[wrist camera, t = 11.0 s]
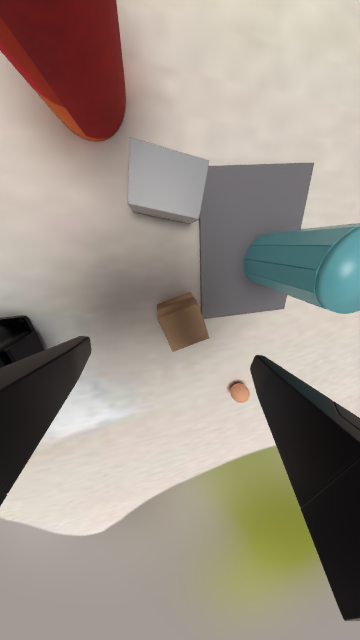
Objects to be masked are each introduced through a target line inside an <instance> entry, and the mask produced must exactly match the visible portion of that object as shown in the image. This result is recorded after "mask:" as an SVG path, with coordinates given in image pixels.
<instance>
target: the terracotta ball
mask: <svg viewBox="0 0 360 640" xmlns="http://www.w3.org/2000/svg"><path fill="white" fill-rule="evenodd" d="M231 396H232V398H233V399H234V400H235V401H237V402H239V403H243V402H246V401H247V400H248V398H249V390H248V388H247V387H246V386H245V385H243V384H241V383H237V384H234V385H233V386H232V388H231Z"/></svg>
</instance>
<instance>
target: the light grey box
mask: <svg viewBox="0 0 360 640" xmlns="http://www.w3.org/2000/svg"><path fill="white" fill-rule="evenodd" d="M208 165H209V160H206V159H202V158H199V157H195V156H192V155H189V154H185V153H182V152H179V151H175V150H172V149H168V148H165V147H162V146H158V145H155V144H152V143H148V142H145V141H141V140H138V139H135V138H131V137H130V151H129V180H128V205H129V206H130V208H131V209H132V211H133V212H137V213H141V214H146V215H151V216H156V217H160V218H165V219H170V220H174V221H179V222H184V223H189V224H191V223H192V222H194V221H196V220H198V219H199V215H200V209H201V204H202V198H203V193H204V187H205V182H206V176H207V170H208Z"/></svg>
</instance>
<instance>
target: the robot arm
mask: <svg viewBox="0 0 360 640" xmlns="http://www.w3.org/2000/svg"><path fill="white" fill-rule="evenodd" d="M21 319H22V320H24V322H23V321H22V320H21ZM90 354H91V343H90V338H89V337H86V336H79V337H77V338H74V339H72V340H69V341H67V342H64V343H62V344H59V345H57V346H54V347H52V348H49V349H47V350H44V349H43V347H42V345H41V343H40V341H39V339H38V337H37V335H36V333H35V331H34V329H33V327H32V325H31V323H30V321H29V319H28V318H27V317H26V316H15V317H7V318H0V506H1V504H2V503H3V501H4V499H5V498H6V496H7V493H9V491H10V489H11V488H12V486H13V485H14V483H15V481H16V480H17V478H18V476H19V475H20V473H21V472H22V470H23V468H24V467H25V465H26V463H27V462H28V460H29V459H30V457H31V455H32V454H33V452H34V451H35V449H36V447H37V446H38V444H39V442H40V441H41V439H42V438H43V436H44V434H45V433H46V431H47V430H48V428H49V426H50V425H51V423H52V421H53V420H54V418H55V417H56V415H57V413H58V412H59V410H60V409H61V407H62V405H63V404H64V402H65V400H66V399H67V397H68V396H69V394H70V392H71V391H72V389H73V388H74V386H75V384H76V383H77V381H78V379H79V377H80V375H81V373H82V371H83V369H84V367H85V365H86V363H87V360H88V358H89V356H90ZM250 370H251V374H252V378H253V382H254V385H255V389H256V393H257V396H258V399H259V401H260V404H261V407H262V409H263V412H264V414H265V417H266V420H267V422H268V425H269V427H270V430H271V433H272V435H273V438H274V440H275V443H276V446H277V448H278V451H279V453H280V456H281V459H282V461H283V464H284V466H285V469H286V471H287V474H288V477H289V479H290V482H291V485H292V487H293V490H294V492H295V495H296V498H297V500H298V503H299V505H300V507H301V511H302V514H303V516H304V519H305V521H306V524H307V527H308V529H309V532H310V534H311V537H312V540H313V542H314V545H315V547H316V550H317V552H318V555H319V558H320V560H321V563H322V566H323V568H324V571H325V573H326V576H327V578H328V581H329V584H330V586H331V589H332V591H333V594H334V597H335V599H336V602H337V605H338V607H339V609H340V612H341V614H342V616H343V619H344V620H345V621H360V418H359V417H357V416H356V415H354V414H353V413H351V412H350V411H348V410H346V409H345V408H343V407H342V406H340V405H339V404H337V403H336V402H334V401H332V400H331V399H329V398H328V397H326V396H325V395H323V394H322V393H320V392H319V391H317V390H316V389H314V388H313V387H311V386H309V385H308V384H306V383H305V382H303V381H302V380H300V379H299V378H297V377H296V376H294V375H293V374H291V373H289V372H288V371H286V370H285V369H283V368H282V367H280V366H279V365H277V364H276V363H274V362H273V361H271V360H269V359H268V358H266V357H265V356H262V355H256V356H255V357H254V359H253V362H252V364H251V367H250Z"/></svg>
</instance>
